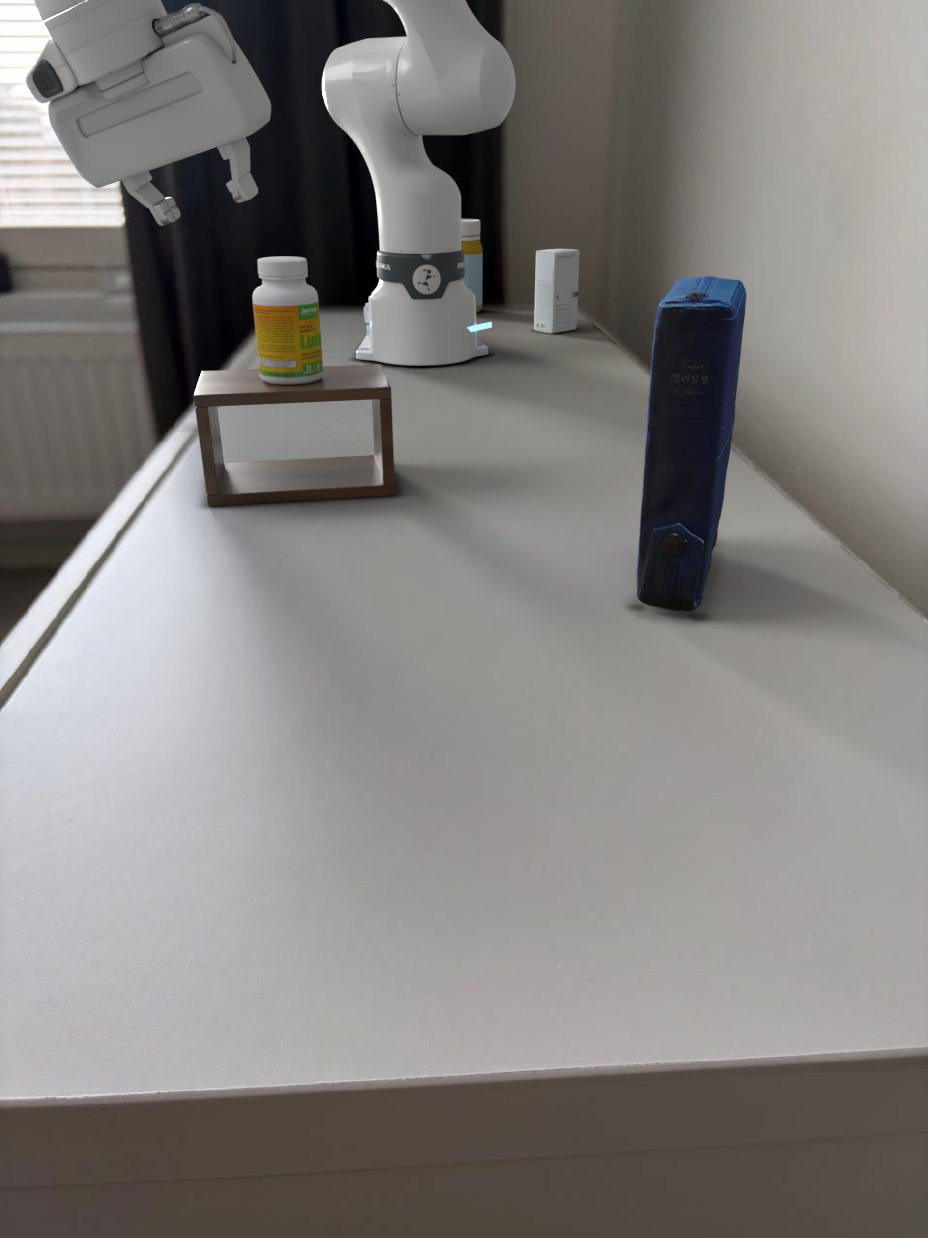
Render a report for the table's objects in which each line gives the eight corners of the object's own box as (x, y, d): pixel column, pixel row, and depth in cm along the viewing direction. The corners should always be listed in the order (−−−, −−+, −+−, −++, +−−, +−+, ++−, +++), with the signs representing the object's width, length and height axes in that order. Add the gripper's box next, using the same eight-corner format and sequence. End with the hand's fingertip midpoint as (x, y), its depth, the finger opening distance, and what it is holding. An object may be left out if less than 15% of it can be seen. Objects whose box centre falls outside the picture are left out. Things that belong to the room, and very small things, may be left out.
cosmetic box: (553, 334, 151) (556, 252, 146) (532, 330, 154) (534, 250, 149) (578, 329, 155) (582, 249, 149) (557, 325, 158) (560, 247, 152)
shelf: (214, 473, 90) (201, 370, 85) (385, 464, 92) (381, 364, 88) (207, 506, 82) (193, 395, 77) (395, 495, 84) (391, 386, 80)
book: (705, 624, 62) (745, 300, 53) (623, 613, 63) (648, 296, 54) (720, 542, 74) (754, 269, 65) (650, 535, 76) (675, 266, 67)
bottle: (439, 313, 168) (438, 221, 162) (446, 307, 175) (446, 218, 168) (478, 314, 167) (479, 222, 161) (484, 308, 174) (485, 218, 167)
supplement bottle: (311, 387, 80) (301, 263, 75) (250, 384, 81) (237, 261, 76) (332, 373, 84) (324, 255, 80) (274, 370, 85) (263, 254, 81)
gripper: (233, -19, 71) (317, 166, 80) (62, 62, 82) (151, 218, 91) (186, 7, 68) (279, 199, 76) (12, 88, 78) (110, 249, 87)
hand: (208, 210), depth 83 cm, fingers open, 8 cm apart
